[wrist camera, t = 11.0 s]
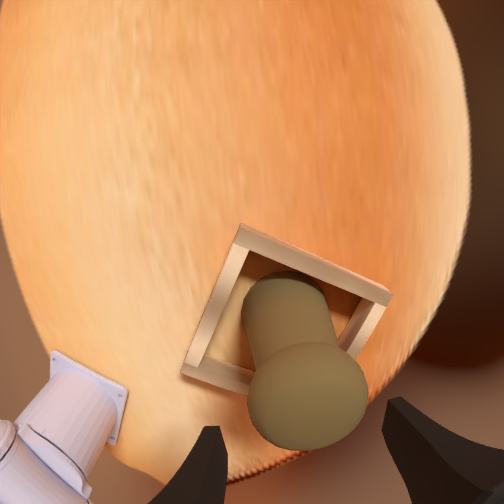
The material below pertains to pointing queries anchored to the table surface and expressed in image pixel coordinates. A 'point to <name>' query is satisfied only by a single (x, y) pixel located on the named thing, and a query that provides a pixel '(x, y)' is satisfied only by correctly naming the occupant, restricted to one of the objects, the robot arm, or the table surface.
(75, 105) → the table surface
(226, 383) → the open square wooden box
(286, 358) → the cork
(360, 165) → the table surface
